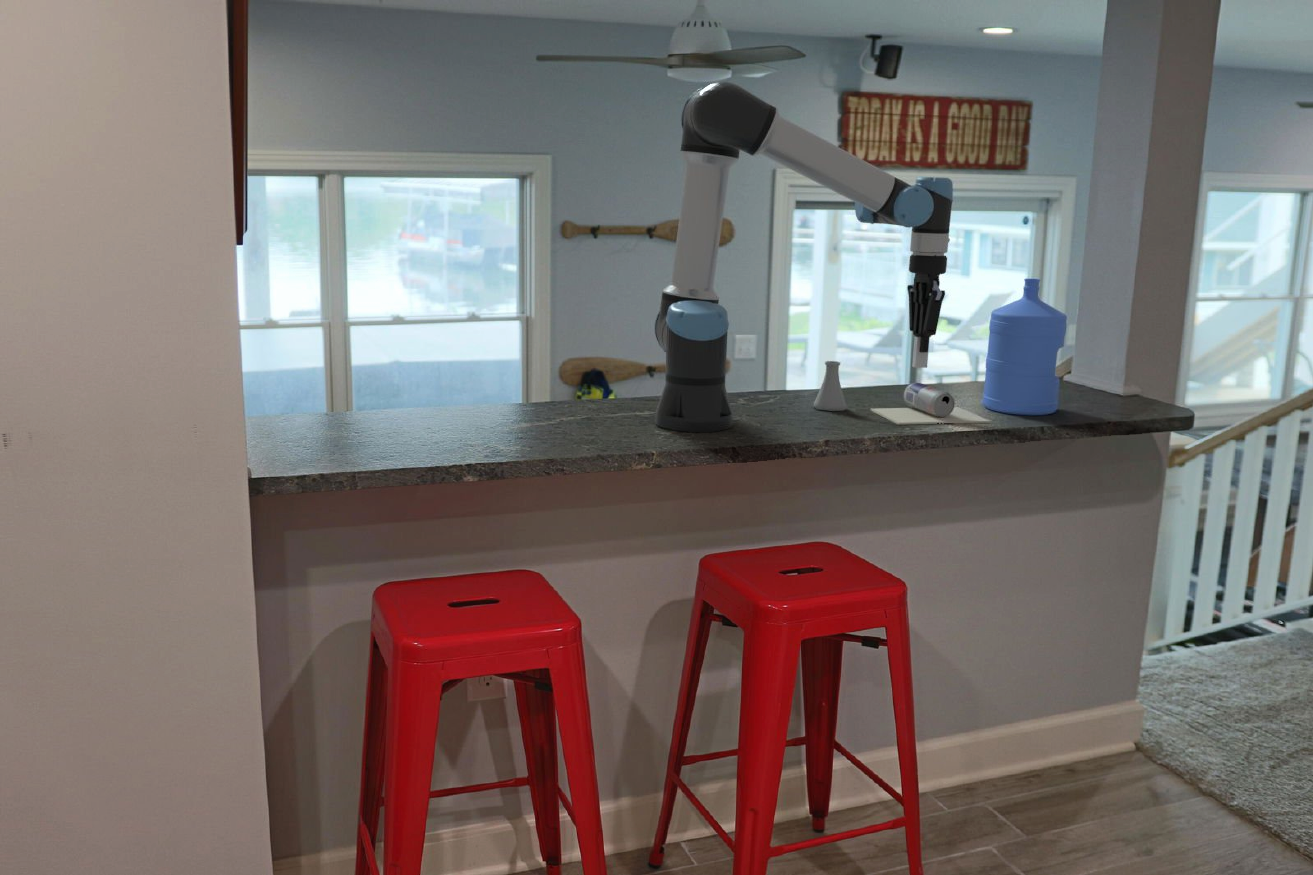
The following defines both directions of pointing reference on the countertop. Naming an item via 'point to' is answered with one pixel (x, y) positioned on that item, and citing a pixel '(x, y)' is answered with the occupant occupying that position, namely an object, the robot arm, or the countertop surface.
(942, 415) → the energy drink
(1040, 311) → the water jug
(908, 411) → the mat
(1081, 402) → the countertop surface
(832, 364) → the flask
